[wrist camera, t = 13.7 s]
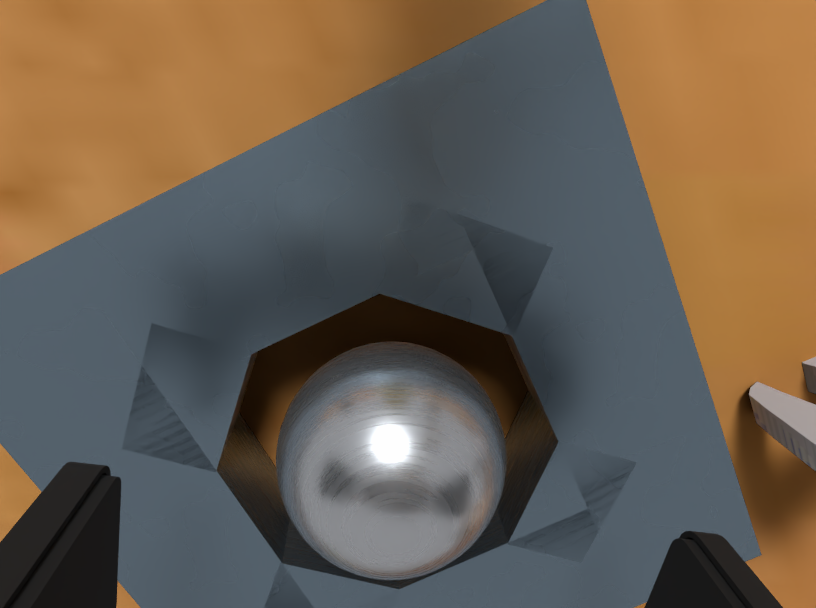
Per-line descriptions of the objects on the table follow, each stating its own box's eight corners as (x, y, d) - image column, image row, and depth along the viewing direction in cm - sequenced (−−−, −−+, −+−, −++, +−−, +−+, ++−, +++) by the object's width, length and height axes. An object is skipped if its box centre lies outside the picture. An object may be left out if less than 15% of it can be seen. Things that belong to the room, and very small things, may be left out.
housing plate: (-19, 286, 13) (-101, 326, 11) (538, 6, 12) (580, -17, 10) (281, 671, 18) (269, 757, 16) (705, 491, 17) (761, 554, 15)
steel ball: (305, 294, 14) (273, 395, 9) (503, 326, 15) (566, 435, 10) (280, 467, 16) (242, 627, 11) (459, 489, 16) (497, 649, 12)
